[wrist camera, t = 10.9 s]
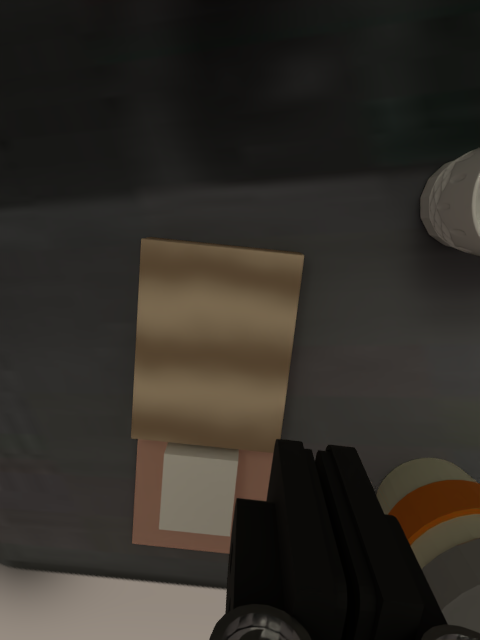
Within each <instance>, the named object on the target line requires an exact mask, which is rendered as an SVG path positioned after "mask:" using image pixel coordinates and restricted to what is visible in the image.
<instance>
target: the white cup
mask: <svg viewBox="0 0 480 640" xmlns="http://www.w3.org/2000/svg"><path fill="white" fill-rule="evenodd" d="M420 218H421V220H422V222H423V224H424V226H425V228H426V230H427V232H428V234H429V235H430V236H432V237H433V238H434V239H436V240H437V241H439V242H440V243H442V244H443V245H445V246H449V247H453V248H456V249H458V250H460V251H463V252H466V253H469V254H472V255H476V256H479V257H480V148H477V149H475V150H473V151H471V152H469V153H466V154H464V155H463V156H461V157H459V158H458V159H456V160H453V161H451V162H448V163H445V164H444V165H443V166H442V167H441V168H439V169H438V170H437V171H436V172H435V173H434V174H433V175H432V176H431V177H430V178H429V179H428V181H427V183H426V186H425V188H424V190H423V192H422V195H421V197H420Z"/></svg>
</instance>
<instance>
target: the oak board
mask: <svg viewBox="0 0 480 640" xmlns="http://www.w3.org/2000/svg"><path fill="white" fill-rule="evenodd" d="M303 262H304V255H303V254H301V253H299V252H290V251H280V250H270V249H260V248H251V247H241V246H231V245H222V244H212V243H202V242H192V241H183V240H173V239H163V238H154V237H148V238H143V239H141V255H140V275H139V294H138V313H137V333H136V352H135V371H134V391H133V410H132V430H131V438H133V439H143V440H152V441H162V442H172V443H182V444H191V445H201V446H211V447H220V448H230V449H240V450H250V451H259V452H269V453H274V446H275V442H276V439H280V438H281V430H282V422H283V415H284V407H285V399H286V392H287V384H288V377H289V369H290V361H291V354H292V346H293V338H294V331H295V323H296V315H297V308H298V300H299V292H300V285H301V277H302V269H303Z"/></svg>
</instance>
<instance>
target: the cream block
mask: <svg viewBox="0 0 480 640" xmlns="http://www.w3.org/2000/svg"><path fill="white" fill-rule="evenodd" d="M238 455H239V449H230V448H220V447H211V446H201V445H191V444H182V443H172V442H168V444H167V447H166V450H165V453H164V462H163V476H162V491H161V505H160V520H159V529H160V530H170V531H180V532H190V533H199V534H209V535H219V536H229V537H230V532H231V522H232V513H233V504H234V495H235V486H236V477H237V467H238Z"/></svg>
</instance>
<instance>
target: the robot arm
mask: <svg viewBox="0 0 480 640" xmlns="http://www.w3.org/2000/svg"><path fill="white" fill-rule="evenodd" d="M210 640H480V633H478V632H476V631H473V630H470V629H467V628H465V627H462V626H456V625H448V624H447V621H446V619H445V617H444V615H443V613H442V611H441V609H440V607H439V605H438V603H437V601H436V598H435V596H434V594H433V592H432V590H431V588H430V586H429V584H428V582H427V580H426V577H425V575H424V573H423V571H422V569H421V567H420V565H419V563H418V561H417V559H416V556H415V554H414V552H413V550H412V548H411V546H410V544H409V542H408V540H407V538H406V535H405V533H404V531H403V529H402V527H401V525H400V523H399V521H398V520H397V518H396V517H395V516H393V515H387V514H384V512H383V510H382V507H381V505H380V503H379V501H378V498H377V496H376V494H375V492H374V489H373V487H372V485H371V483H370V480H369V478H368V476H367V474H366V471H365V469H364V467H363V464H362V462H361V460H360V458H359V455H358V453H357V451H356V449H355V448H353V447H345V446H336V445H328V446H327V448H326V451H320V450H318V452H317V455H316V460H315V461H314V457H313V453H312V450H311V449H304V447H303V443H302V442H300V441H291V440H282V439H276V442H275V446H274V453H273V459H272V466H271V473H270V480H269V486H268V493H267V500H266V501H260V500H251V499H242V498H237V499H236V503H235V510H234V518H233V525H232V533H231V542H230V552H229V564H228V578H227V597H226V614H225V615H224V616H223V617H222V618H221V619H220V620H219V621H218V622H217V623H216V625H215V627H214V630H213V632H212V634H211V636H210Z"/></svg>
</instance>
